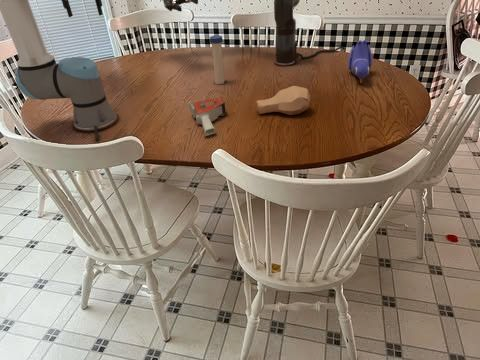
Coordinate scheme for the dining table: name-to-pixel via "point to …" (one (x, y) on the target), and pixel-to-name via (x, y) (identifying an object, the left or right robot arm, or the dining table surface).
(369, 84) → the dining table surface
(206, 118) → the tape dispenser
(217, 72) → the cream plastic cylinder
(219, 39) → the lid
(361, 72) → the toy
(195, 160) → the dining table surface
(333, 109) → the dining table surface
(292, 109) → the squash
